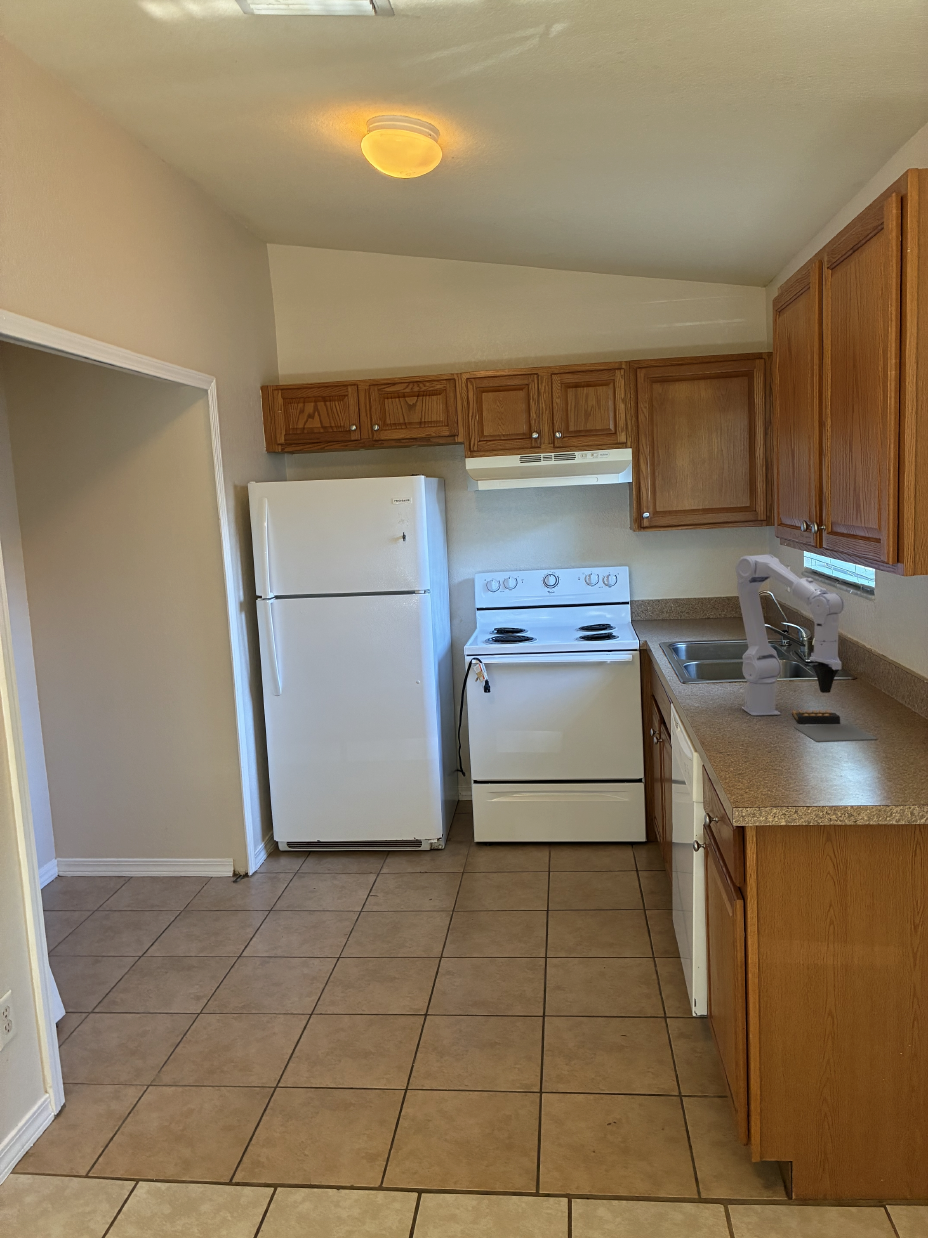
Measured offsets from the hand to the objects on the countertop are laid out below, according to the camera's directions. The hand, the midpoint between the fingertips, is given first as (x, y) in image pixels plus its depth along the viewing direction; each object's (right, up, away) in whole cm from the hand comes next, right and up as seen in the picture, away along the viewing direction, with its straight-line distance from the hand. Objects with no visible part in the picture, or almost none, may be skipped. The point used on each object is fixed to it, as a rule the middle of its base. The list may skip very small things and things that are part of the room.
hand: (825, 692), depth 240 cm
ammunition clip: (0, -8, +5) cm, 9 cm away
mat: (0, -10, -5) cm, 11 cm away
